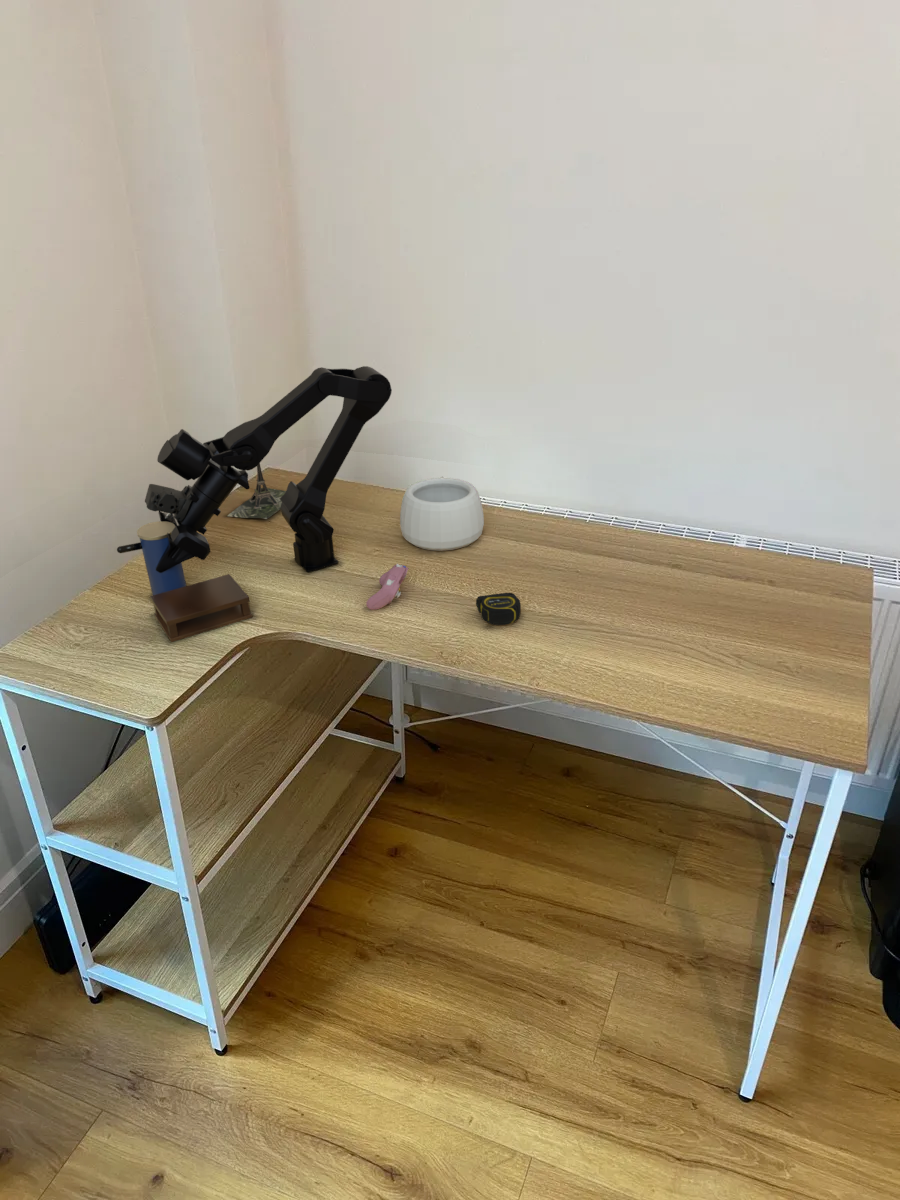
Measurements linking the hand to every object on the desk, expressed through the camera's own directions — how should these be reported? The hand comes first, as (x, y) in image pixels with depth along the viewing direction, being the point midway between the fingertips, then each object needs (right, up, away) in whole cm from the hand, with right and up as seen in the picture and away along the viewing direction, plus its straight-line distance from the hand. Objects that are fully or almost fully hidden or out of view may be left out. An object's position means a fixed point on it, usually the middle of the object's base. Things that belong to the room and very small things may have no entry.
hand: (155, 563), depth 150 cm
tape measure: (+60, -9, -6) cm, 61 cm away
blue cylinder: (0, -6, +3) cm, 7 cm away
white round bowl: (+50, +7, +24) cm, 56 cm away
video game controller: (+41, -6, +1) cm, 42 cm away
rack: (+9, -9, -3) cm, 14 cm away
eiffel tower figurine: (+11, +14, +37) cm, 42 cm away
